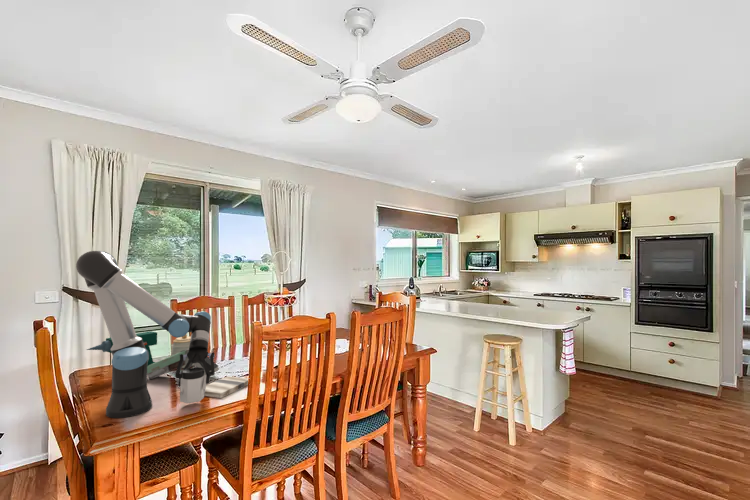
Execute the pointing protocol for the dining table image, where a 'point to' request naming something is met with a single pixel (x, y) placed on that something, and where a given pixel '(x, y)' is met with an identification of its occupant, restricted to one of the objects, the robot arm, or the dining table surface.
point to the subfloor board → (225, 386)
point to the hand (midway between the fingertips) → (192, 392)
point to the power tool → (147, 337)
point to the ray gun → (174, 365)
